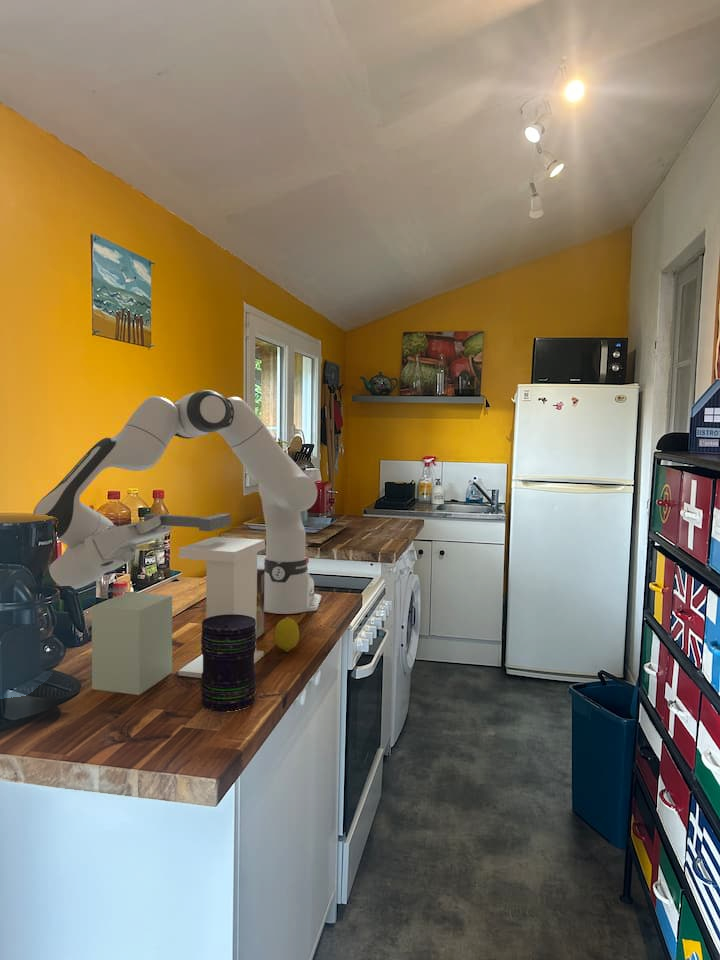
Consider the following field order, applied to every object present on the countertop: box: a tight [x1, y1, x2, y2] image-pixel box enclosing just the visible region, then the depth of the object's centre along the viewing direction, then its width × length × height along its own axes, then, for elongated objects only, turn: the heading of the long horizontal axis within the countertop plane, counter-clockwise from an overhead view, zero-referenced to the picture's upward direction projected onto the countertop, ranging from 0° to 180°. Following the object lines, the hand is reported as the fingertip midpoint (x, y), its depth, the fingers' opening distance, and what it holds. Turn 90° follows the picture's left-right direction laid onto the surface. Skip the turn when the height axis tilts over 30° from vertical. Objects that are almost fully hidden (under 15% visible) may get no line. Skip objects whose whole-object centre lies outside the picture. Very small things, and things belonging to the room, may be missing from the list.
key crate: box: [91, 591, 173, 696], centre depth 127 cm, size 12×10×16 cm
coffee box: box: [256, 568, 265, 640], centre depth 156 cm, size 9×6×16 cm
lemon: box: [274, 616, 300, 653], centre depth 147 cm, size 6×6×8 cm
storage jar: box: [200, 614, 257, 713], centre depth 118 cm, size 10×10×15 cm
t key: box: [143, 513, 232, 532], centre depth 137 cm, size 10×17×2 cm, turn 77°
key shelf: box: [177, 536, 266, 679], centre depth 137 cm, size 16×12×26 cm
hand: (164, 517), depth 138 cm, fingers closed on t key, 2 cm apart
